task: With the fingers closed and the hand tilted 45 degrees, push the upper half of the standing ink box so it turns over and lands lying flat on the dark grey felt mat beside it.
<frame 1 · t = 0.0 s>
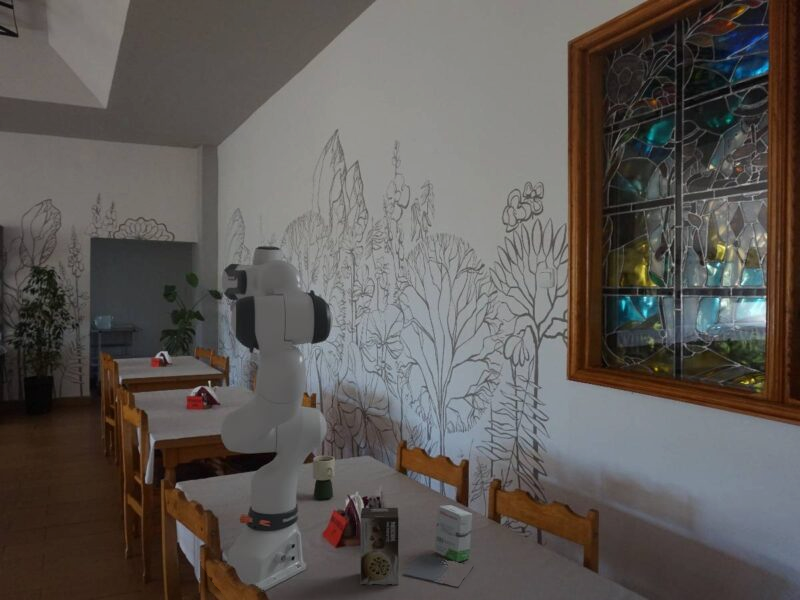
hand: (264, 340, 191), 52 cm above the table, tool tilted 20°, fingers open, 8 cm apart
felt mat: (439, 570, 154), on the table
ink box: (451, 556, 162), on the table, touching felt mat
coffee box: (379, 579, 149), on the table
character mug: (323, 498, 204), on the table
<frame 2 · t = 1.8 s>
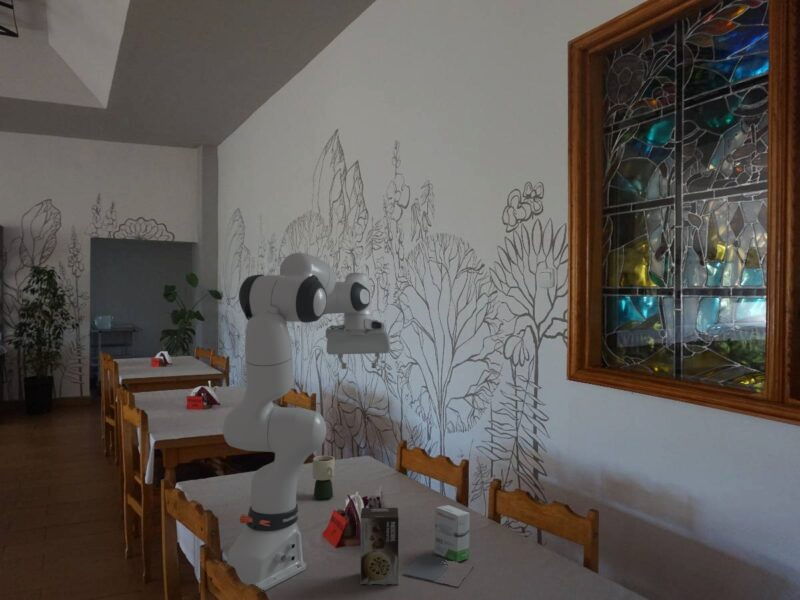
hand: (359, 368, 198), 43 cm above the table, tool pointing down, fingers open, 8 cm apart
nothing on the table moved.
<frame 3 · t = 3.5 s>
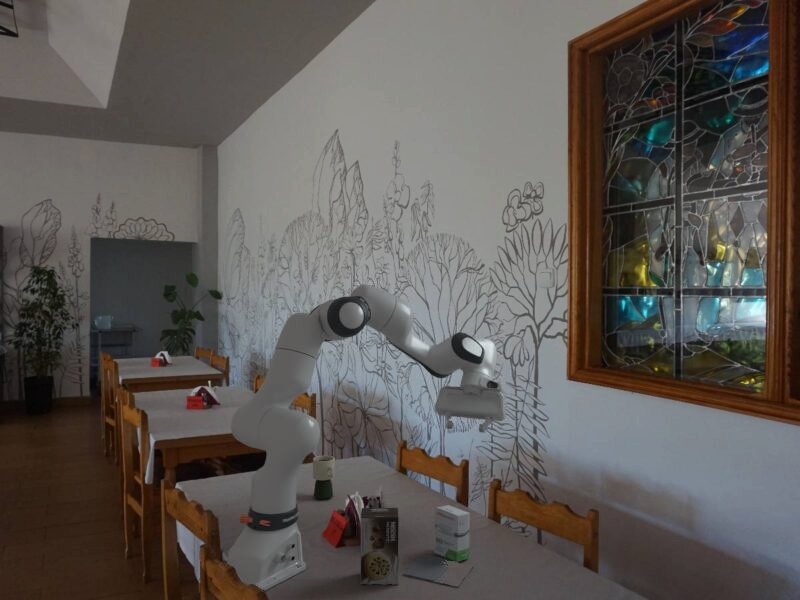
hand: (465, 429, 174), 30 cm above the table, tool tilted 45°, fingers open, 8 cm apart
nothing on the table moved.
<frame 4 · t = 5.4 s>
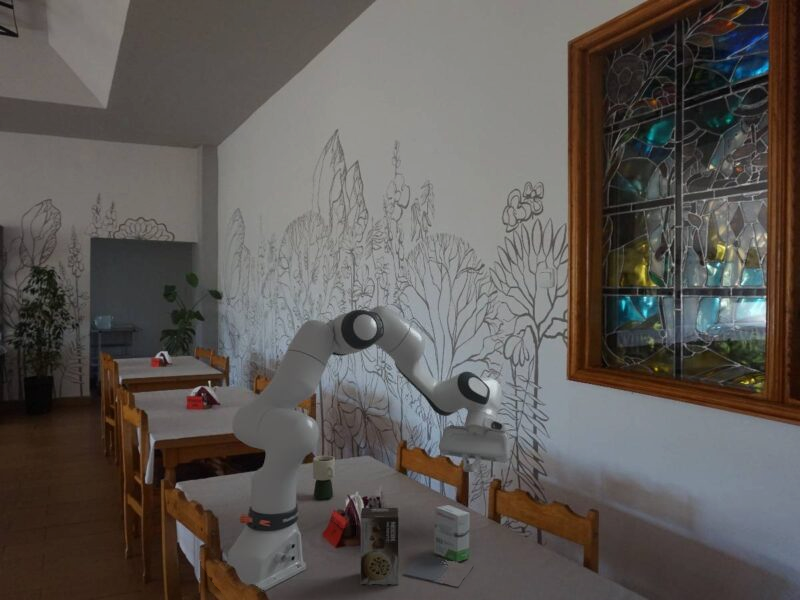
hand: (468, 470, 174), 19 cm above the table, tool tilted 45°, fingers closed
nothing on the table moved.
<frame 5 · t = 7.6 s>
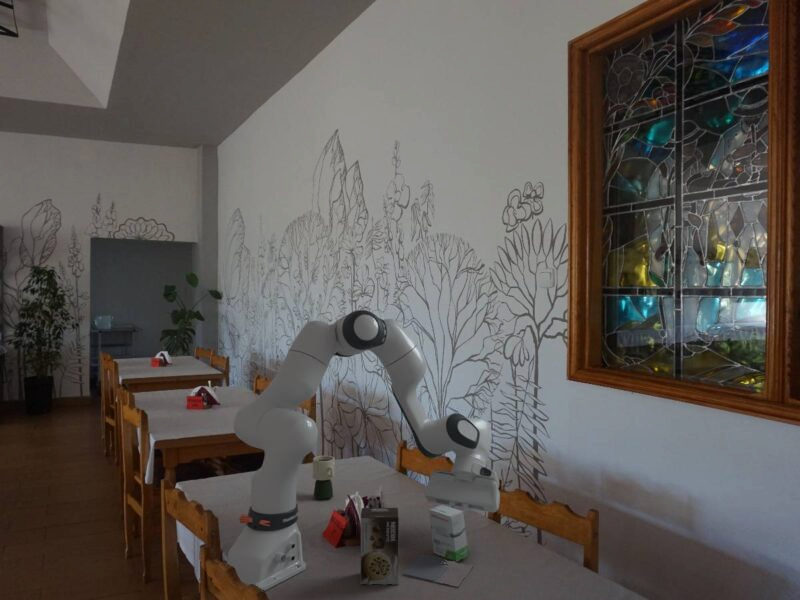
hand: (455, 520, 165), 8 cm above the table, tool tilted 45°, fingers closed
ink box: (451, 555, 162), on the table, touching felt mat, gripper
everything else where it was.
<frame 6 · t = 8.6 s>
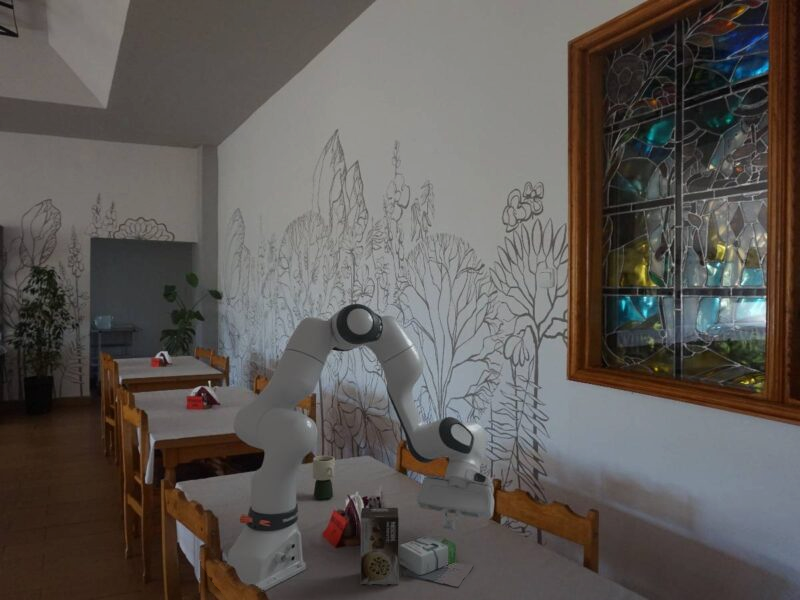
hand: (448, 528, 159), 8 cm above the table, tool tilted 45°, fingers closed
ink box: (445, 547, 161), point 3 cm above the table, touching felt mat
everything else where it was.
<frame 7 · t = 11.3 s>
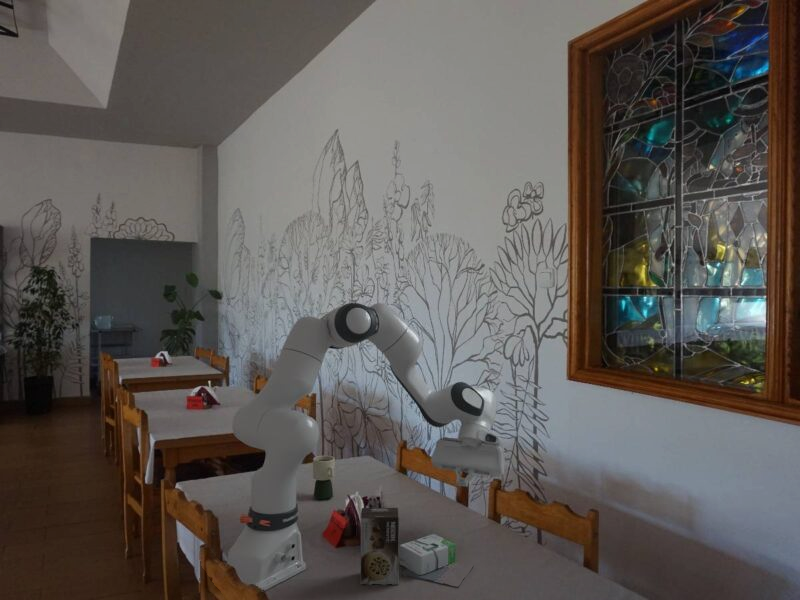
hand: (461, 485, 168), 16 cm above the table, tool tilted 45°, fingers closed
nothing on the table moved.
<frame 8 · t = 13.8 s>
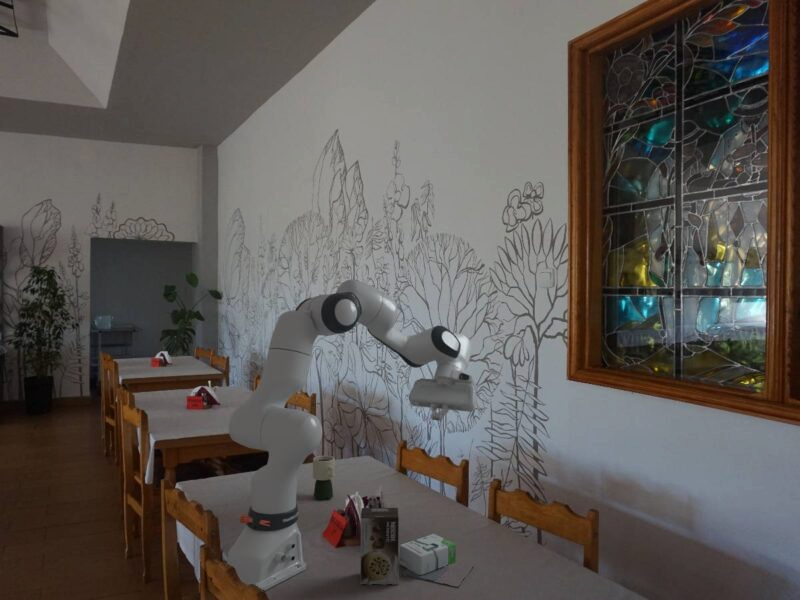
hand: (436, 419, 180), 31 cm above the table, tool tilted 45°, fingers closed
nothing on the table moved.
at the end: ink box tilted 90°; ink box inside the target area (6.2 cm from its centre), point 2.9 cm above the table; the gripper is holding nothing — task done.
